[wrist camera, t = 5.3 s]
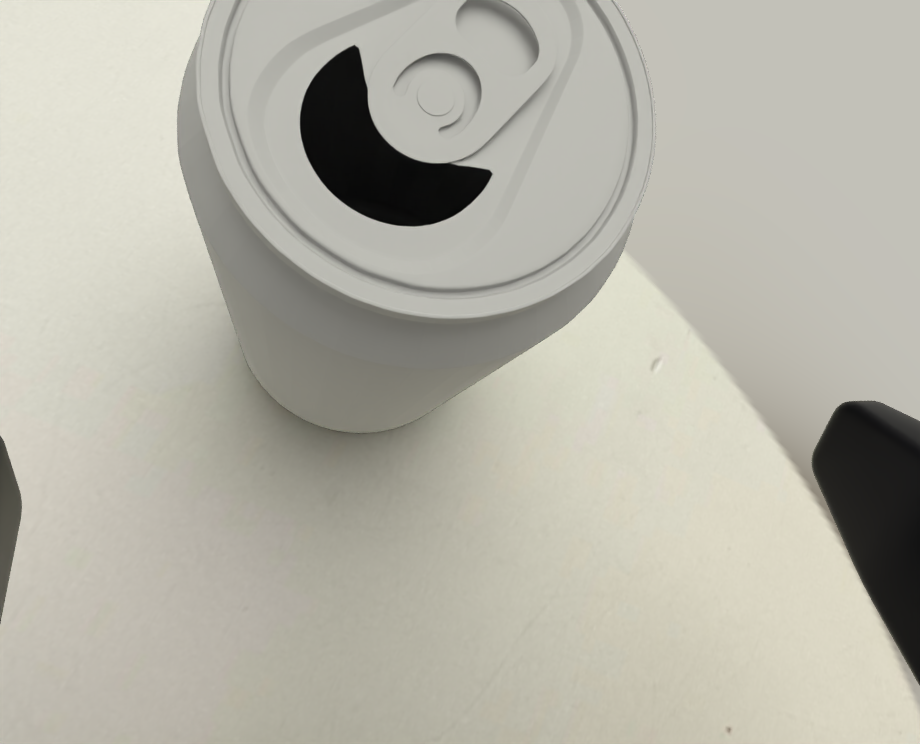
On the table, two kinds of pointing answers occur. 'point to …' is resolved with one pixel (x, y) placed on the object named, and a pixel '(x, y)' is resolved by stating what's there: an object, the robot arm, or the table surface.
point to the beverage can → (409, 187)
